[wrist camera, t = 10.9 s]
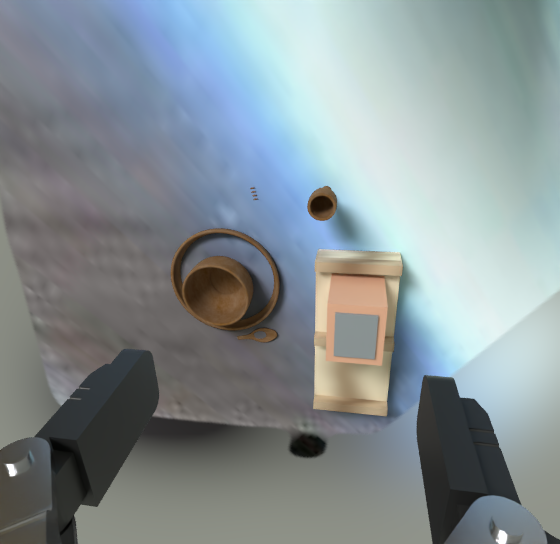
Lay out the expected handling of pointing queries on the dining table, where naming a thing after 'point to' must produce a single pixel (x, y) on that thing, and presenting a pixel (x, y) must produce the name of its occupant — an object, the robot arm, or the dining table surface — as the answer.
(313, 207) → the place setting
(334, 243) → the dining table surface
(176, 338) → the dining table surface
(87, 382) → the robot arm
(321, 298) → the light wooden ridged board
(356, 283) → the frame block
